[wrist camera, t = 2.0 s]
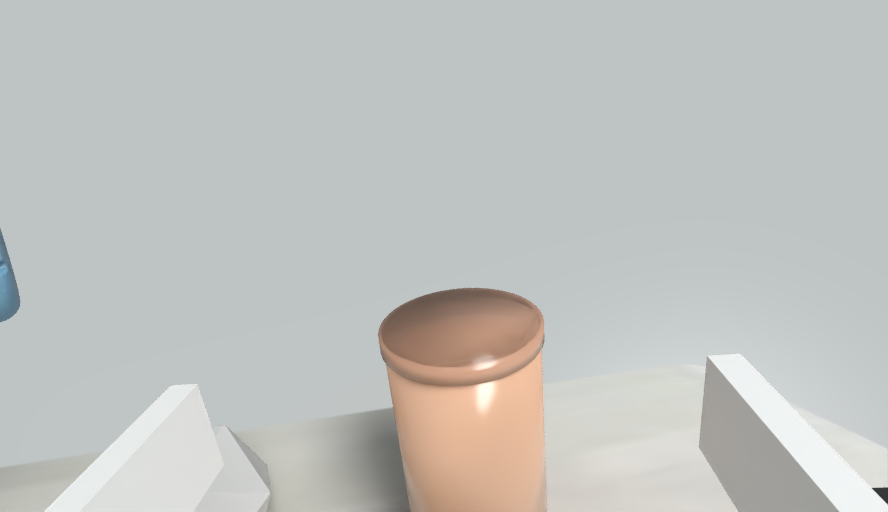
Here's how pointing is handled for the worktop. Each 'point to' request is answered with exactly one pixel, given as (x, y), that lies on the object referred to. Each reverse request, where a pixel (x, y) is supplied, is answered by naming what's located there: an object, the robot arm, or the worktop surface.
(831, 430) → the worktop surface
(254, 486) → the die
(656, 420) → the worktop surface
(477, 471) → the jar
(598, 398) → the worktop surface
